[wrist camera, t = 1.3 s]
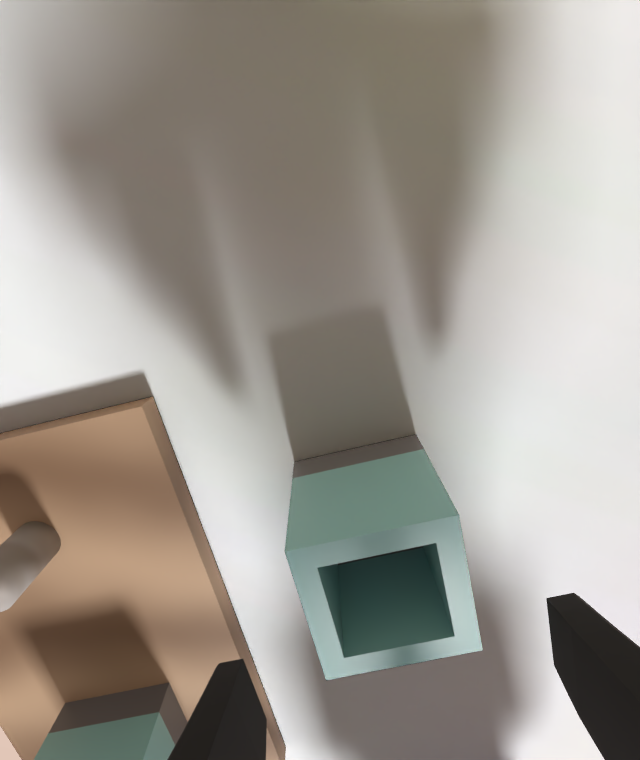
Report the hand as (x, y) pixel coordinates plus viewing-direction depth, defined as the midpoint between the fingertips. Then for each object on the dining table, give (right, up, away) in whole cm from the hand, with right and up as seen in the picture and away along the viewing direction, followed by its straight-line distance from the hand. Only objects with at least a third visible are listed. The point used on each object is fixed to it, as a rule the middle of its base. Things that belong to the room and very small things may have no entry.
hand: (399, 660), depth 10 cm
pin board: (-11, -4, +8) cm, 14 cm away
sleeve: (0, +2, +7) cm, 7 cm away
